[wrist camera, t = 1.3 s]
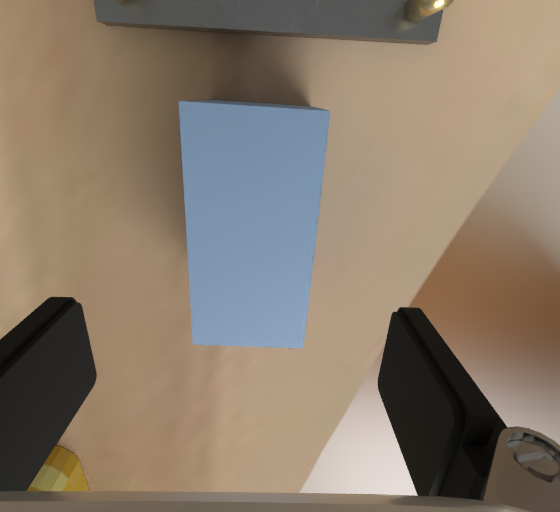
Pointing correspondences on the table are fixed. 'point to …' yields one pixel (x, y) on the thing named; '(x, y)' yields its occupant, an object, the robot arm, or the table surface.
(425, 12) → the dowel plate
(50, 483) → the book
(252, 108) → the blue block
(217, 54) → the table surface
